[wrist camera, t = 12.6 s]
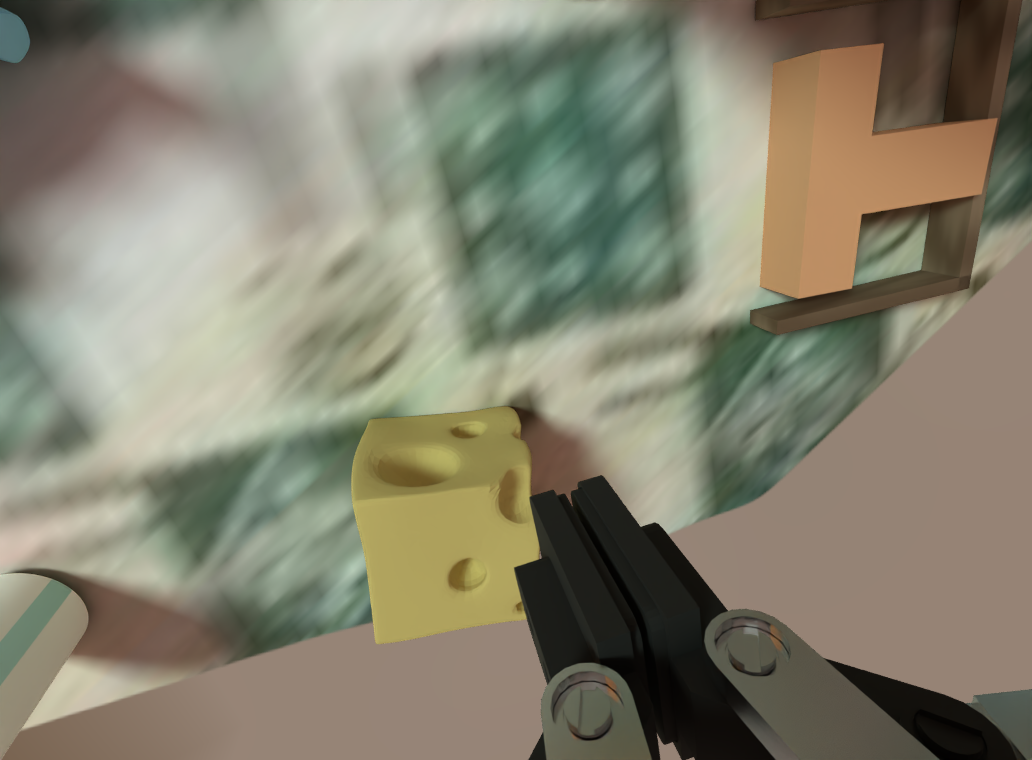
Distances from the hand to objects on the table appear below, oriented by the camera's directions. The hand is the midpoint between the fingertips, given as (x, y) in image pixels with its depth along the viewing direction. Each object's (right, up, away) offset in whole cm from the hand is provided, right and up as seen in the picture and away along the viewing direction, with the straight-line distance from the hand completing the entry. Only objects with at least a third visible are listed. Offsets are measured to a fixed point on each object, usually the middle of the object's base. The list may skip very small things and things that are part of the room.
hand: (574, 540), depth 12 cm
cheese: (-7, -3, +27) cm, 28 cm away
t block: (+22, +18, +25) cm, 37 cm away
